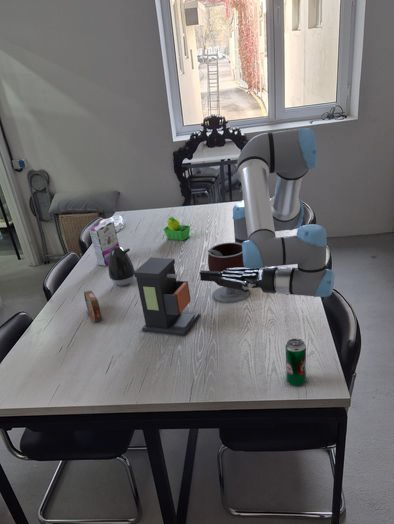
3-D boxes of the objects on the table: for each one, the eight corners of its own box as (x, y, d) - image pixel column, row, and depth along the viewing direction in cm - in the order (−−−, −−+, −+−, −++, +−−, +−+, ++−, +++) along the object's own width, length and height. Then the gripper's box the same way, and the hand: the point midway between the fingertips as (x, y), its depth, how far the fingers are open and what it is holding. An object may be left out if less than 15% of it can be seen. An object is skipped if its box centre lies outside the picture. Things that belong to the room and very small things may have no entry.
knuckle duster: (101, 223, 263) (128, 220, 262) (96, 235, 248) (124, 231, 247) (100, 217, 262) (127, 214, 261) (94, 228, 246) (122, 225, 245)
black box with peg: (199, 315, 164) (191, 258, 152) (183, 335, 154) (174, 276, 143) (159, 312, 169) (149, 256, 158) (142, 331, 160) (130, 273, 148)
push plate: (190, 302, 159) (187, 282, 155) (180, 313, 153) (177, 294, 149) (186, 301, 159) (183, 282, 155) (176, 313, 153) (173, 293, 149)
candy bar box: (113, 255, 221) (105, 220, 212) (122, 256, 218) (114, 221, 210) (97, 265, 213) (88, 229, 204) (105, 266, 211) (97, 230, 202)
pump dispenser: (132, 288, 189) (124, 251, 180) (107, 288, 191) (99, 252, 183) (140, 277, 197) (133, 241, 189) (116, 277, 199) (108, 242, 191)
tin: (86, 308, 178) (81, 288, 174) (95, 306, 179) (89, 285, 175) (95, 326, 166) (90, 304, 162) (104, 323, 167) (99, 301, 163)
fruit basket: (192, 236, 230) (189, 212, 224) (182, 242, 224) (178, 219, 218) (173, 234, 235) (169, 211, 229) (162, 240, 229) (158, 217, 223)
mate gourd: (229, 282, 182) (225, 231, 172) (258, 291, 173) (255, 238, 163) (200, 299, 174) (193, 246, 163) (229, 309, 165) (224, 254, 154)
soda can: (284, 376, 130) (283, 339, 123) (303, 374, 130) (303, 336, 123) (289, 388, 126) (288, 349, 119) (308, 385, 126) (308, 346, 119)
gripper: (271, 302, 135) (194, 296, 144) (283, 282, 144) (210, 277, 154) (270, 277, 131) (191, 273, 140) (282, 258, 140) (207, 255, 150)
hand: (201, 275), depth 147 cm, fingers closed
